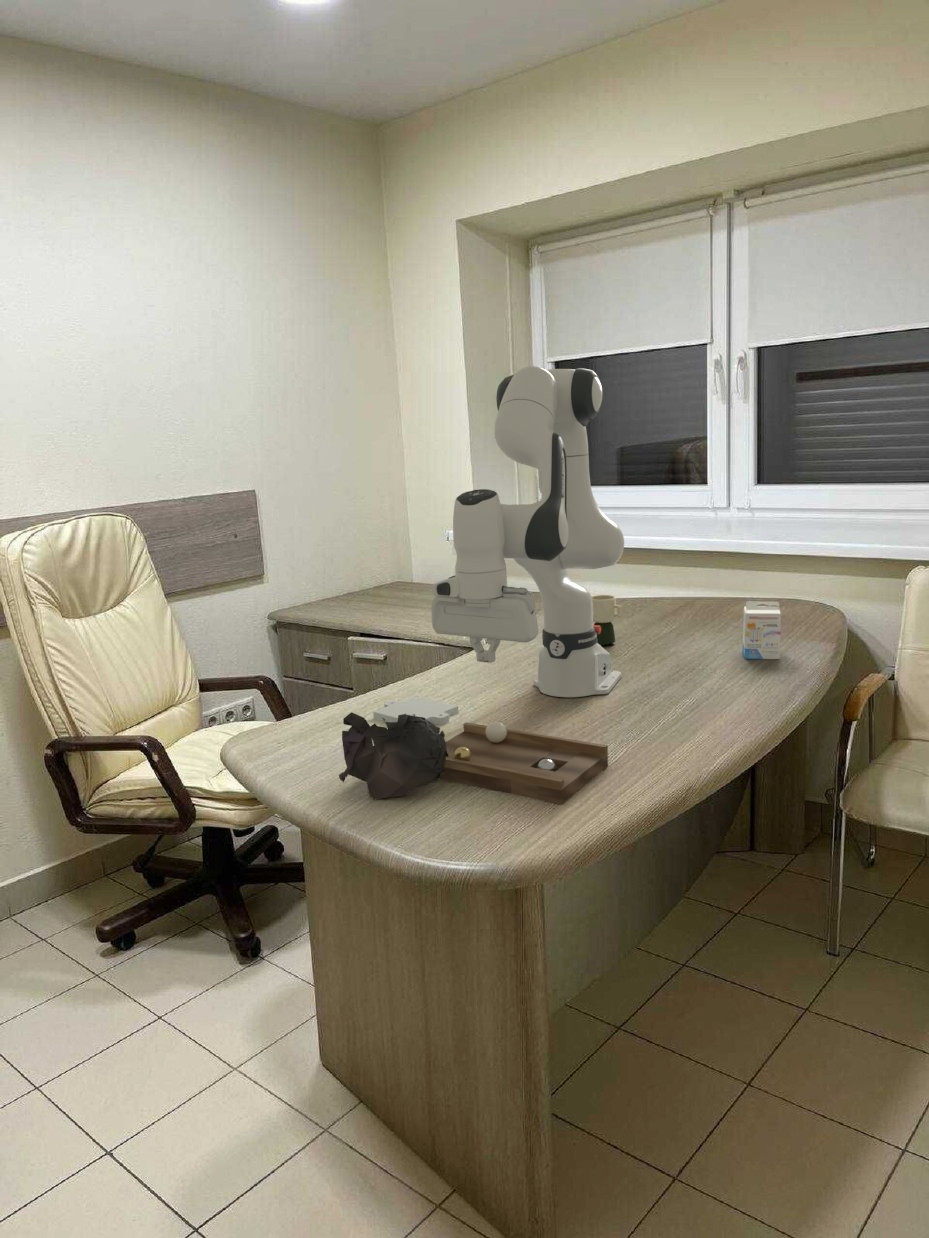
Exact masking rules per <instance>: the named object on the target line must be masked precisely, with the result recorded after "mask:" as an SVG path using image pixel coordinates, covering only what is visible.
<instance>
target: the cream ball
mask: <svg viewBox="0 0 929 1238" xmlns="http://www.w3.org/2000/svg"><path fill="white" fill-rule="evenodd" d="M486 726H487V728H486V731H485V733H486V737H487V738H488V740H489V741H491V742H493V743H499V742H502V741H503V740H504V739H505V737H506V735H507V730H506V729H507V726H506V725H505V724H504V723H502V722H500V721H492V722H490V723H489V724H488V725H486Z"/></svg>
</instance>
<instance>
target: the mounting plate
mask: <svg viewBox="0 0 929 1238" xmlns="http://www.w3.org/2000/svg"><path fill="white" fill-rule="evenodd" d="M383 706H384V707H383V708H380V709H376V710H374V711H372V713H373V719H374V720H377V719H379V720H378V721H381V720H382V722H384V723H385V722H388V721H389V722H398V715H402V714H405V713H406V715H412V716H414V715H415V716H417V717H423V718H425V719H426V720H427V721H429V722H431V723H432V724H434V725H440V726H441V725H445V724H448V723H450V717H452V716H455V715H456V714H459V713H460V712H459V706H458V705H455V704H451V703H447V702H442V701H438V700H434V699H429V698H426V697H422V696H421V697H420V696H416V695H415V696H412V697H410V698H406V699H405V700H402V701H399V700H398V701H397V700H389V701H386V702H384V705H383ZM413 714H414V715H413ZM381 717H382V718H384V719H386V720H385V721H384V720H383V719H382V718H381Z"/></svg>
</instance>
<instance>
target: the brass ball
mask: <svg viewBox="0 0 929 1238" xmlns="http://www.w3.org/2000/svg"><path fill="white" fill-rule="evenodd" d="M454 757H455V759H459V760H464V761H469V760H470V759H471V752H470V750H469V749H468V748H466V747H459V748H457V749H456V751H455V753H454Z"/></svg>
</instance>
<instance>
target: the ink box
mask: <svg viewBox="0 0 929 1238" xmlns="http://www.w3.org/2000/svg"><path fill="white" fill-rule="evenodd" d="M745 603H746V604H745V605H744V606H743V618H742V619H743V623H742V625H743V626H742V649H741V650H742V654H743V657H744V659H745V660H780V659H781V639H782V638H781V637H782V635H781V634H782V633H781V632H782V629H781V628H782V611H781V610H780V602H779V601H756V600H755V601H749V600H748V601H747V602H745ZM762 604H763V605H766V606H763V605H762ZM759 605H762V606H759Z"/></svg>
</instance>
